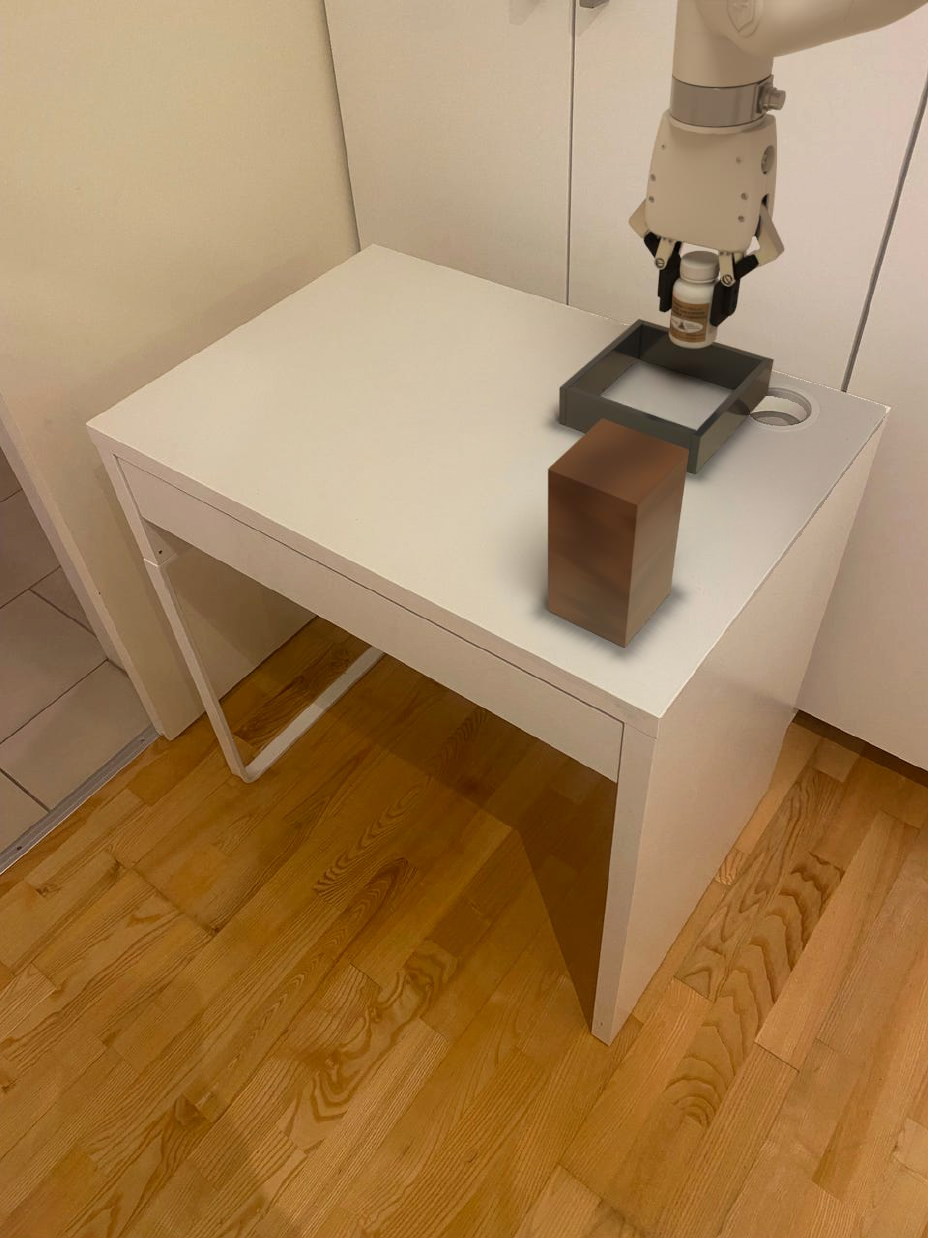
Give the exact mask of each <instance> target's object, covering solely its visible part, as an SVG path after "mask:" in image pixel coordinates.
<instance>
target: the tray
mask: <svg viewBox="0 0 928 1238" xmlns="http://www.w3.org/2000/svg"><path fill="white" fill-rule="evenodd" d="M639 359H640V360H642V361H644V362H649V363H652V364H654V365H657V366H660V367H663V368H666V369H670V370H673V371H675V372H678V373H681V374H684V375H688V376H691V377H694V378H698V379H700V380H703V381H706V382H710V383H712V384H716V385H719V386H722V387H725V388H728V389H732V390H733V391H732V392H731V393H730V394H729V395H728V397H726V399H725V400H724V401H723V402H722V403H721V404H720V405H719V406H718V407H717V408H716V409H715V410H714V411H713V412H712V413H711V414H710V416H709V417H707V419H706V420H705V421H704V422H703V423H701V425H700V426H699V427H698V428H697V429H694V428H691V427H688V426H686V425H683V424H680V423H677V422H675V421H672V420H669V419H666V418H664V417H661V416H657V415H655V414H651V413H648V412H646V411H643V410H641V409H637V408H635V407H632V406H629V405H626V404H623V403H620V402H618V401H615V400H612V399H609V398H606V397H603V396H602V395H601V396H600V394H601V393H603V392H604V391H605V390H606V389H607V388H609V386H610V385H612V384H613V383H614V382H615V381H616V380H617V379H618V378H619V377H620V376H621V375H623V374H624V373H625V372H626V371H627V370H628V369H630V367H632V366H633V365H634V363H636V362H637V361H638V360H639ZM773 366H774V358H771V357H767V356H764V355H761V354H756V353H753V352H750V351H747V350H743V349H740V348H737V347H733V346H730V345H727V344H724V343H721V342H717V341H714V342H713V343H712V344H710V345H709V346H707V347H704V348H697V349H691V348H684V347H681V346H678V345H676V344H674V343H673V342H672V341H671V339H670V337H669V327H668V326H664V325H661V324H659V323H658V324H657V323H654V322H651V321H648V320H644V319H641V318H638V319H637V320H635V321H634V322H633V323H632V324H630V326H629V327H627V329H625V330H624V331H623V332H622V333H620V334H619V335H618V336H617V337H616V338H615V339H613V340H612V341H611V342H610V343H609V344H608V345H607V346H606V347H604V348H603V349H602V350H601V351H600V352H598V353H597V354H596V355H595V356H594V357H592V359H591V360H589V361H588V362H587V363H586V364H584V366H583V367H581V368H580V369H579V370H578V371H577V372H576V373H574V374H573V375H572V376H571V377H569V379H567V380H566V381H565V382H564V383H563V384H562V385H560V386H559V395H558V396H559V397H558V399H559V401H558V405H559V406H558V423H559V424H561V425H564V426H566V427H568V428H572V429H574V430H576V431H579V432H582V433H585V434H586V433H587V432H588V431H589V430H590V429H591V428H592V427H593V426H594V425H595V424H596V423H598V422H599V421H600V420H601V419H602V418H603V419H605V420H608V421H611V422H614V423H616V424H619V425H622V426H625V427H627V428H630V429H633V430H636V431H639V432H641V433H644V434H647V435H650V436H652V437H655V438H658V439H661V440H663V441H666V442H669V443H672V444H674V445H677V446H680V447H683V448H685V449H688V450H689V455H688V463H687V470H686V472H689V473H691V474H694V475H695V474H697V473H698V471H699V470H701V468H702V467H703V466H704V465H705V464H706V463H707V462H708V461H709V460H710V458H712V456H713V455H714V454H715V453H716V452H717V450H719V449H720V448H721V446H722V445H723V444H724V443H725V442H726V441H727V440H728V439H729V437H730V436H731V435H732V434H733V433H734V432H735V431H736V430H737V429H738V428H739V426H741V424H742V423H743V422H744V421H745V420H746V419H747V417H749V416H750V415H751V413H752V412H753V411H754V410H755V409H756V407H758V406H759V405H760V404H761V402H762V401H763V400H765V398H766V397H767V395H768V391H769V386H770V381H771V376H772V371H773Z"/></svg>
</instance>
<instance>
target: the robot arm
mask: <svg viewBox="0 0 928 1238" xmlns="http://www.w3.org/2000/svg"><path fill="white" fill-rule="evenodd" d="M927 4H928V0H677V3H676V16H675V27H674V29H675V30H674V41H673V56H672V69H671V81H670V93H669V94H670V95H669V105H668V106H669V107H667V109H666V110H664V111H663V113H662V115H661V119H660V121H659V125H658V128H657V133H656V136H655V141H654V146H653V150H652V154H651V159H650V165H649V170H648V176H647V177H648V178H647V184H646V185H647V186H646V192H645V193H646V194H645V198H644V200H643V201H642V202H641V203H640V204H639V206H638V207H637V208H636V209H635V211H634V212H633V213H632V214H631V216H630V217H629V218H628V225H629V227H630V228H631V229H632V230H633V231H634V232H635V233H636V234H637V235H638V236H639V238H640V239H643V244H644V245H645V247H646V248H647V250H648V251H649V252H650V254H651V255H652V257H653V264H654V266H655V268H656V269H657V270H659V271H658V283H657V297H658V298H659V305H658V311H659V312H662V313H667V312H669V311H671V307H672V294H673V286H674V284H675V282H676V280H677V279H679V278H680V277H681V276H680V264H681V258H682V256H681V253H682V251H683V248H684V245H685V244H688V245H692V246H698V247H702V248H707V249H710V250H714V251H717V255H718V256H719V265H720V272H719V280H720V281H719V282H717V283H716V284H715V286H714V290H713V299H712V307H711V315H710V324H711V326H715V327H718V328H719V326H720V325H721V324H722V323H724V321H725V320H726V319H728V318H729V317H731V316H732V315H733V314H734V313H735V312H736V310H737V308H738V307H737V306H738V300H739V293H740V292H739V291H740V287H741V279H743V278H744V277H745V276H746V275H748V274H749V273H751V272H753V271H755V269H758V268H759V267H763V266H765V265H767V264H769V263H772V262H774V261H776V260H777V259H778V258H779V257H780V256H781V255H782V254H784V252H785V246H784V244H783V241H782V239H781V237H780V235H779V232H778V230H777V228H776V226H775V224H774V221H773V216H774V209H775V208H774V207H775V198H776V189H777V188H776V187H777V169H778V132H777V131H778V130H777V119H776V116H775V115H773V114H771V113H768V112H770V111H772V110H775V111H781V110H783V107H784V105H785V102H786V98H787V97H786V96H787V93H786V91H785V90H783V89H782V90H781V89H778V88H777V87H775V86H774V78H775V74H772V73H773V66H774V60H775V58H778V57H783V56H788V55H792V54H795V53H798V52H799V53H800V52H802V51H806V50H810V49H812V48H816V47H819V46H822V45H825V44H829V43H832V42H835V41H839V40H843V39H846V38H851V37H854V36H858V35H861V34H866V33H869V32H873V31H877V30H880V29H882V28H885V27H887V26H891V25H892V24H894V23H897V22H898V21H900V20H902V19H904V18H906V17H908V16H909V15H911V14H912V13H914V12H915V11H917V10H919V9H920V8H922V7H923V6H925V5H927ZM754 237H755V239H756V240H757V243H758V245H759V248H758V249H755V250H752V251H751V252H750V253H749V254H748V253H747V252H748V250H749V249H750V247H751V243H752V240H753V238H754Z"/></svg>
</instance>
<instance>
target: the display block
mask: <svg viewBox="0 0 928 1238" xmlns="http://www.w3.org/2000/svg"><path fill="white" fill-rule="evenodd" d="M688 455H689V450H688V449H685V448H683V447H680V446H677V445H674V444H672V443H669V442H666V441H663V440H661V439H658V438H655V437H652V436H650V435H647V434H644V433H641V432H639V431H636V430H633V429H630V428H627V427H625V426H622V425H619V424H616V423H614V422H611V421H608V420H605V419H603V418H602V419H601V420H600V421H599V422H598V423H596V424H595V425H594V426H593V427H592V428H591V429H590V430H589V431H588V432H587V433H585V434H583V436H581V437H580V438H579V439H578V440H577V441H576V442H575V443H574V444H573V445H572V446H570V447H569V448H568V449H567V450H566V452H564V453H563V454H562V455H561V456H560V457H559V458H558V459H557V460H556V461H554V463H552V465H551V466H549V467H548V469H547V611H548V612H550V613H552V614H554V615H556V616H558V617H560V618H562V619H564V620H567V621H568V622H571V623H572V624H574V625H577V626H579V627H581V628H582V629H585V630H587V631H589V632H591V633H593V634H595V635H597V636H600V637H602V638H604V639H605V640H608V641H610V642H612V643H614V644H616V645H618V646H620V647H622V648H626V646H628V644H629V643H630V642H631V641H632V639H634V637H635V636H636V635H637V634H638V632H639V631H640V630H641V629H642V628H643V626H645V624H646V623H647V622H648V620H649V619H650V618H651V617H652V616H653V614H654V613H655V612H656V611H657V610H658V609H659V607H660V606H661V605H662V604H663V602H664V601H665V600H666V599H667V597H669V595H670V594H671V588H672V581H673V575H674V567H675V561H676V559H675V558H676V552H677V544H678V537H679V536H678V535H679V529H680V522H681V516H682V515H681V514H682V508H683V507H682V506H683V499H684V494H685V493H684V492H685V486H686V484H685V483H686V477H687V471H686V470H687V463H688Z"/></svg>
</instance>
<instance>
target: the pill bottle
mask: <svg viewBox="0 0 928 1238" xmlns="http://www.w3.org/2000/svg"><path fill="white" fill-rule="evenodd" d="M680 276H681V277H680V278H679V279H677V280H676V282H675V284H674V286H673V294H672V307H671V309H670V318H669V327H668V328H669V337H670V339H671V341H672V342H673V343H674V344H676V345H678V346H681V347H684V348H691V349H697V348H704V347H707V346H709V345H710V344H712V343H713V342H716V339H717V336H718V328H719V326H718V327H715V326H711V324H710V315H711V307H712V299H713V290H714V286H715V284H716V283H717V282H719V281H720V278H719V277H720V265H719V255H718V253H715V252H713V251H709V250H694V251H689V252H686V253H685V254H683V255H682V256H681V264H680Z"/></svg>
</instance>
